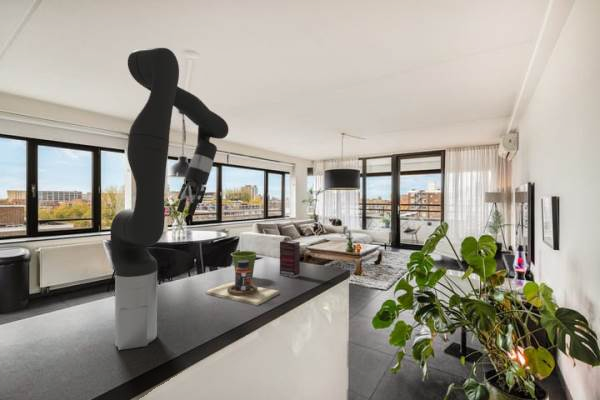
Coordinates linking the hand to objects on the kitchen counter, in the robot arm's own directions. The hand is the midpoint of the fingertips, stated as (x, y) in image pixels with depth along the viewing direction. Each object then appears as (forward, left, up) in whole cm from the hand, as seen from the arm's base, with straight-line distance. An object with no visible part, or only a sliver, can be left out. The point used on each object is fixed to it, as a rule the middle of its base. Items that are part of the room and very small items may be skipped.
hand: (184, 213), depth 100 cm
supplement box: (+21, -45, -31) cm, 59 cm away
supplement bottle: (+2, -21, -30) cm, 36 cm away
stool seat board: (+2, -20, -31) cm, 37 cm away
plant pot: (+23, -24, -31) cm, 46 cm away
